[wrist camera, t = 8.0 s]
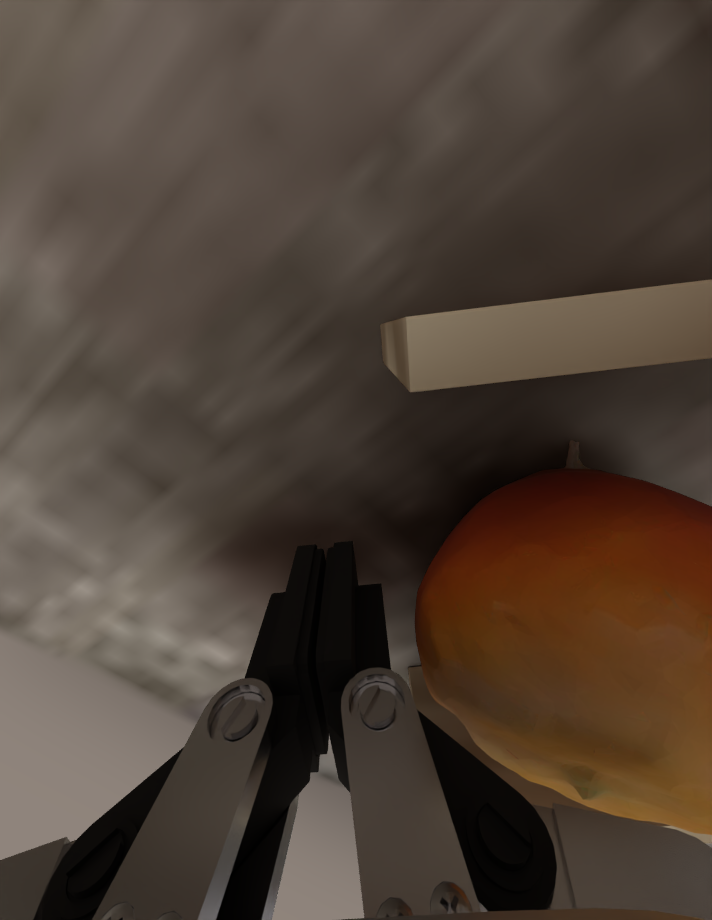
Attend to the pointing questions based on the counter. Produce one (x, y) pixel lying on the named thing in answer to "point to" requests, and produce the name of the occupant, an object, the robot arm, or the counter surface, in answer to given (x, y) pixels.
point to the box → (535, 356)
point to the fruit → (581, 639)
